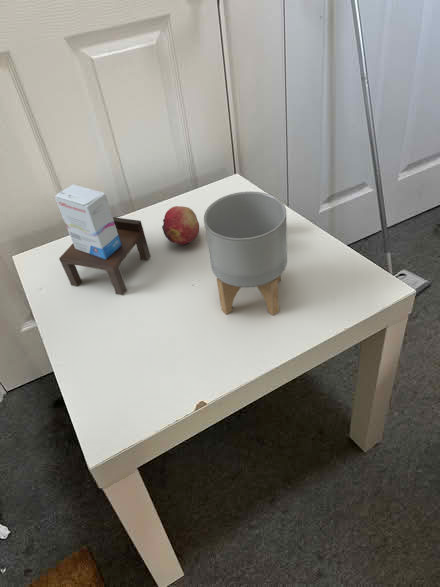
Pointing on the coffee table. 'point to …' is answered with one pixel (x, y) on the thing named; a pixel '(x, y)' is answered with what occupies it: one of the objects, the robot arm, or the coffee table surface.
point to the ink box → (89, 220)
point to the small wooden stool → (128, 236)
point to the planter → (247, 245)
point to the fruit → (180, 225)
